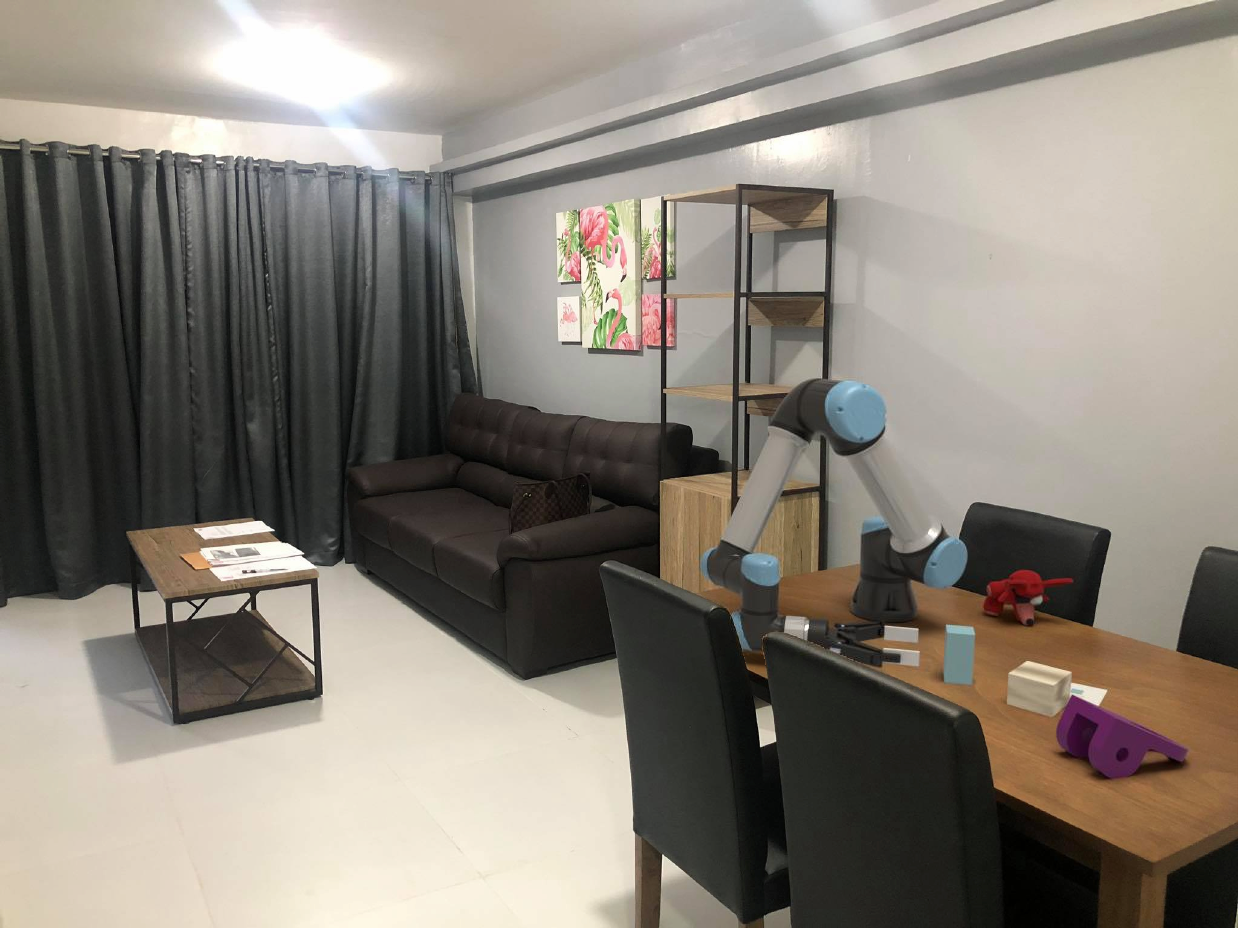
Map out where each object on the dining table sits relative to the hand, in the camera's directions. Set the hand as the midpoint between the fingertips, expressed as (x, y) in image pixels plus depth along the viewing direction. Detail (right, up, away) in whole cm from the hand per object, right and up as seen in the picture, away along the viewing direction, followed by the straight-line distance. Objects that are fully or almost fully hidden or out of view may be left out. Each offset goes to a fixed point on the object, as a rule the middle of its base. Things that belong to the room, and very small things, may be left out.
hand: (918, 646), depth 189 cm
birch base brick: (+18, -8, -13) cm, 23 cm away
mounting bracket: (+23, -12, -34) cm, 43 cm away
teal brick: (+7, -6, -1) cm, 10 cm away
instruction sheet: (+26, -7, -9) cm, 29 cm away
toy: (+35, -1, +35) cm, 49 cm away
